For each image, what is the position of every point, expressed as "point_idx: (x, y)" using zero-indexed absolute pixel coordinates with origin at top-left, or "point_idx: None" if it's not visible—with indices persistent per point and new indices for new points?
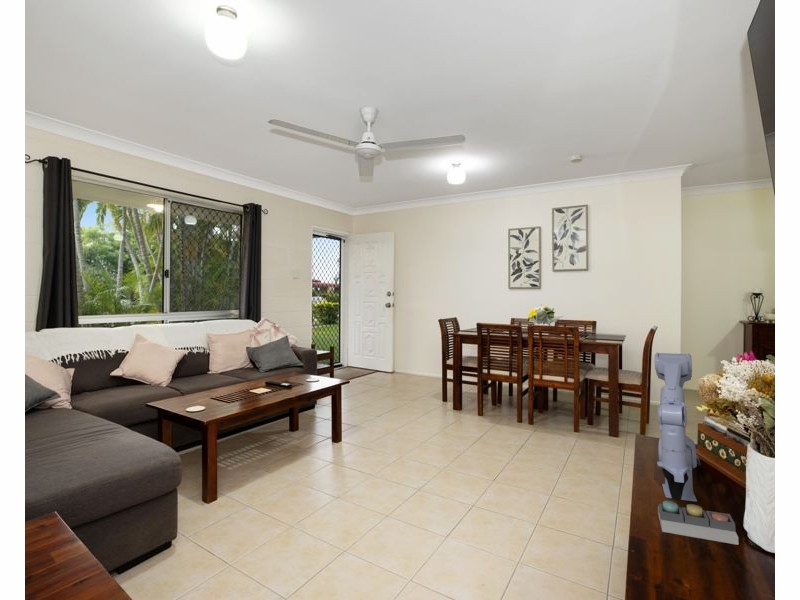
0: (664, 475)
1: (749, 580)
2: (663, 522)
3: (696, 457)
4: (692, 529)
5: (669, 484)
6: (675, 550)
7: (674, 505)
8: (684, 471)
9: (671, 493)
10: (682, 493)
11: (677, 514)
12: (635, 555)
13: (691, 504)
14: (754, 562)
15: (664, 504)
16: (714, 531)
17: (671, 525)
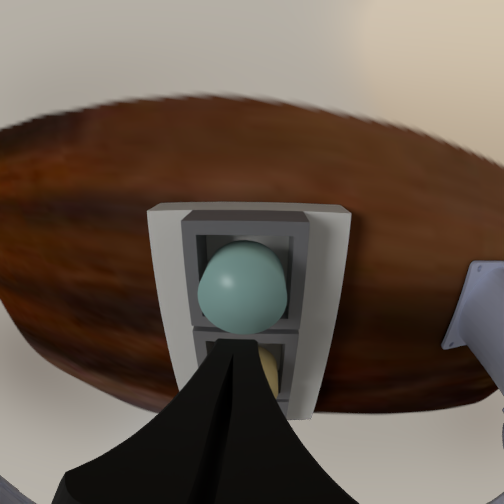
0: (63, 490)
1: (56, 357)
2: (166, 219)
3: None
4: (163, 323)
5: (148, 426)
6: (63, 236)
7: (225, 318)
8: None
9: (204, 364)
10: (468, 324)
11: (195, 304)
12: (9, 129)
13: (274, 387)
14: (125, 393)
15: (215, 263)
16: (185, 379)
17: (152, 251)
